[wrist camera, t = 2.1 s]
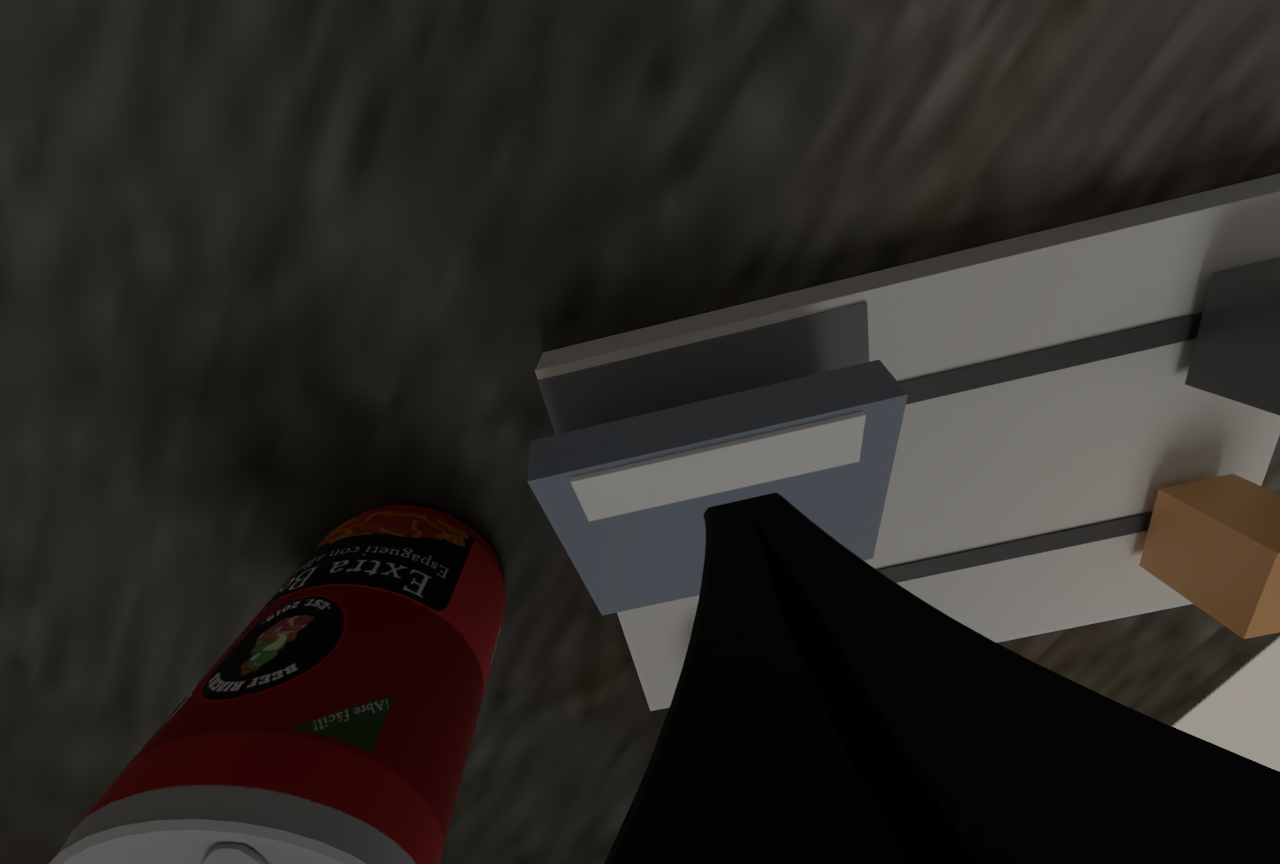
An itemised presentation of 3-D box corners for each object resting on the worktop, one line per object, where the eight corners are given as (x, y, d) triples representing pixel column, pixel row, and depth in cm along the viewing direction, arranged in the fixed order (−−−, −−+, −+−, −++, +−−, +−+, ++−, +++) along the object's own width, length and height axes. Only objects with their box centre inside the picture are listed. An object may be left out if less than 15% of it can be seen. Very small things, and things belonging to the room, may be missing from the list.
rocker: (854, 523, 17) (874, 562, 16) (599, 578, 18) (602, 619, 17) (879, 359, 12) (911, 398, 11) (530, 440, 13) (526, 486, 12)
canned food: (482, 484, 19) (338, 798, 9) (530, 636, 22) (463, 985, 13) (285, 512, 19) (-70, 851, 9) (362, 659, 23) (164, 1022, 13)
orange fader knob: (1207, 551, 19) (1330, 625, 16) (1139, 565, 19) (1247, 641, 16) (1232, 473, 17) (1374, 537, 14) (1158, 489, 18) (1282, 555, 14)
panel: (1172, 565, 22) (1273, 632, 19) (647, 672, 24) (653, 752, 20) (1285, 171, 16) (1475, 164, 12) (543, 352, 17) (524, 391, 14)
